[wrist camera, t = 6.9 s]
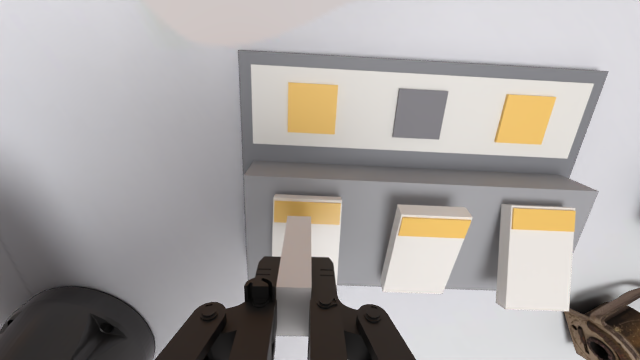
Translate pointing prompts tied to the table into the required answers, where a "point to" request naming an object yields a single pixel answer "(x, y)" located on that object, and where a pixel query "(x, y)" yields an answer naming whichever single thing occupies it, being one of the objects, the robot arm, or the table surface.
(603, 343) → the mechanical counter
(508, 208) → the rocker
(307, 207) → the rocker
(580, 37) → the table surface
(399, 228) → the rocker middle
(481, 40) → the table surface
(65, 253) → the table surface
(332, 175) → the switch unit
